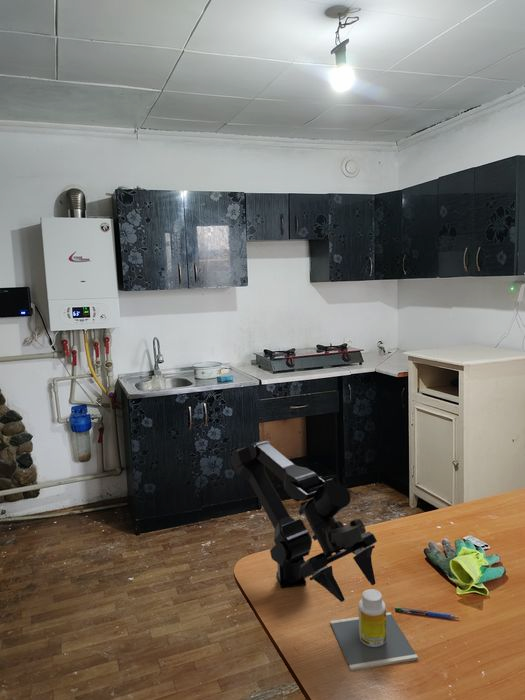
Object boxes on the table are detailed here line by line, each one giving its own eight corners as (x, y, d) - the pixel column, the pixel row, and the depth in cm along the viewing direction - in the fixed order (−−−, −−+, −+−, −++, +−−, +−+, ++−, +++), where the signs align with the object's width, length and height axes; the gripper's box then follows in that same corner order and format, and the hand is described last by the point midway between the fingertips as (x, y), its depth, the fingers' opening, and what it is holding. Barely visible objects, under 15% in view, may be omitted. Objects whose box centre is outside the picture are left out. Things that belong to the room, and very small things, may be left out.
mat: (350, 670, 102) (350, 668, 102) (330, 623, 116) (330, 621, 116) (417, 659, 104) (418, 657, 104) (390, 614, 118) (390, 612, 118)
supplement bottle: (390, 647, 107) (389, 601, 106) (363, 650, 107) (362, 604, 105) (381, 628, 113) (380, 585, 111) (356, 631, 112) (355, 588, 111)
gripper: (307, 524, 108) (345, 599, 101) (371, 498, 118) (409, 565, 111) (285, 542, 115) (319, 614, 108) (346, 517, 126) (381, 580, 119)
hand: (358, 592), depth 111 cm, fingers open, 9 cm apart
